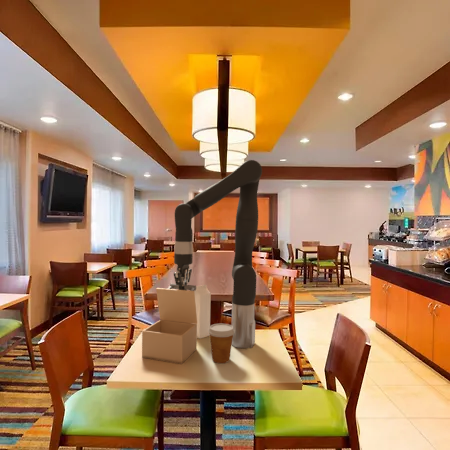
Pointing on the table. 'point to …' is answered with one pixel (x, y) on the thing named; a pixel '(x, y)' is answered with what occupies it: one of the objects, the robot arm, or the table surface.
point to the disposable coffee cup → (221, 342)
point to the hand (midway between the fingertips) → (182, 294)
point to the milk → (202, 310)
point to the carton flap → (177, 304)
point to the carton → (169, 341)
